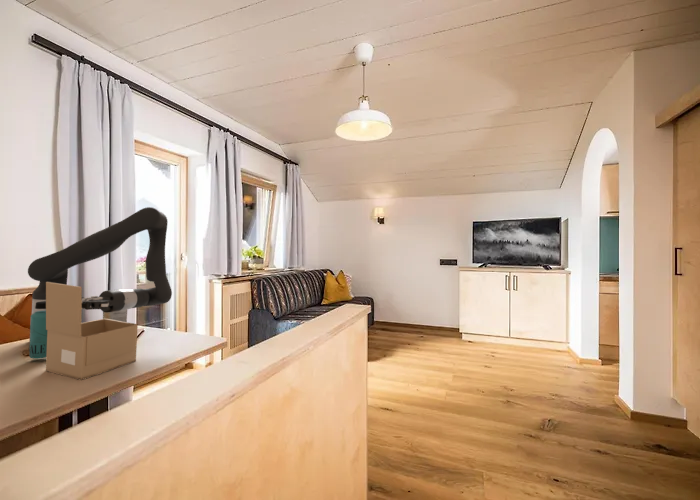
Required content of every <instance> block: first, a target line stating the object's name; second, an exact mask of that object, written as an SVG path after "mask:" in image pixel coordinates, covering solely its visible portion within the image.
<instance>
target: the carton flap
mask: <svg viewBox="0 0 700 500" xmlns="http://www.w3.org/2000/svg"><path fill="white" fill-rule="evenodd" d="M82 289H83V288H82V286H78V285H72V284H67V285H65V284H58V283H51V282H46V330H50V331H54V332H59V333H64V334H69V335H73V336H78V337H81V323H82V310H83V309H82V297H83V296H82V292H83V291H82Z"/></svg>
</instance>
